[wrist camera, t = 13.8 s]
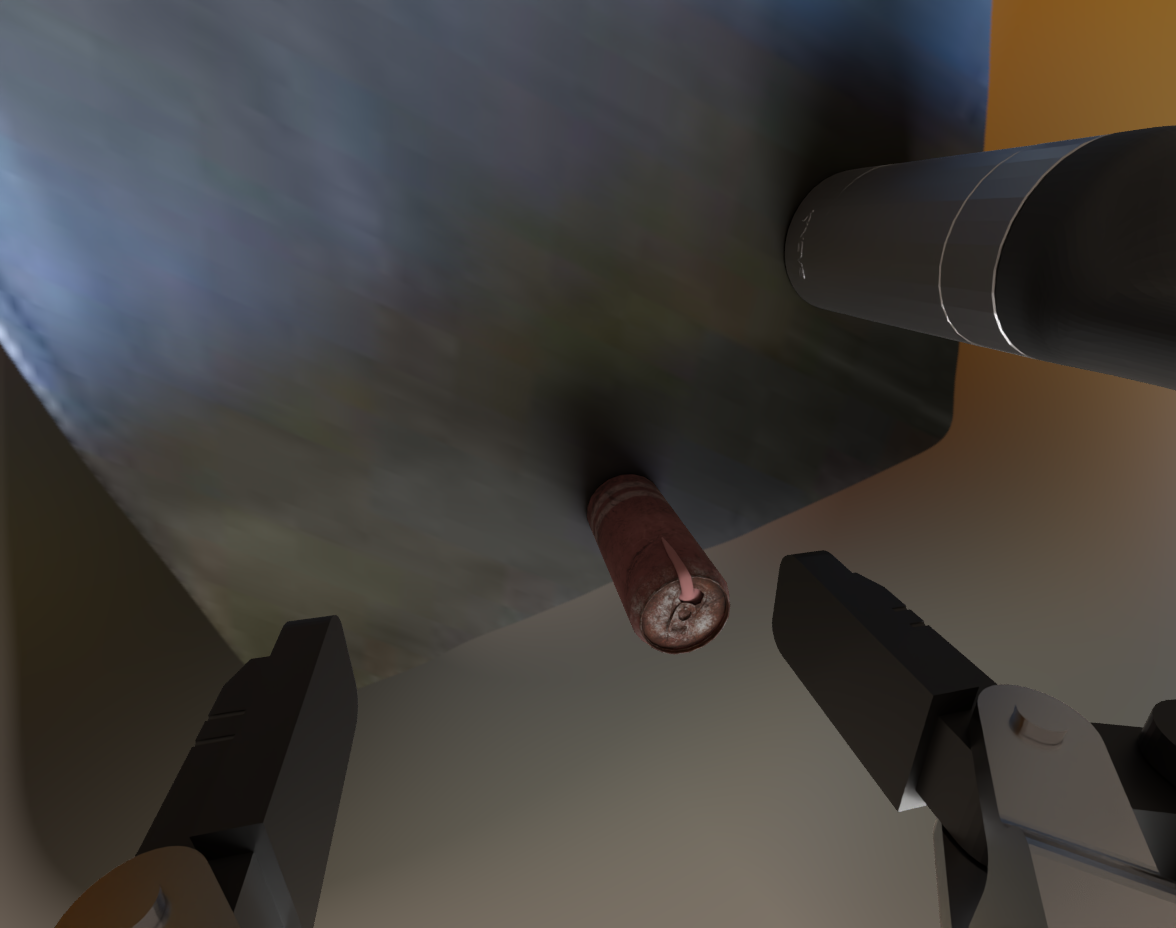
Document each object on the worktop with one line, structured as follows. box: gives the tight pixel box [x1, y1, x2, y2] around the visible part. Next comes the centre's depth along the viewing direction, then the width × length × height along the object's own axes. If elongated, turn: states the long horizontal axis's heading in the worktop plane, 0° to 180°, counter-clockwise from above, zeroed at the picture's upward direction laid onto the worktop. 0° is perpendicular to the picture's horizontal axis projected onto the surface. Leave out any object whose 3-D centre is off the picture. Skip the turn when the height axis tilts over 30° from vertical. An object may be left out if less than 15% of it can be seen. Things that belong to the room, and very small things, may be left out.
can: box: [587, 474, 730, 654], centre depth 38 cm, size 6×6×14 cm
